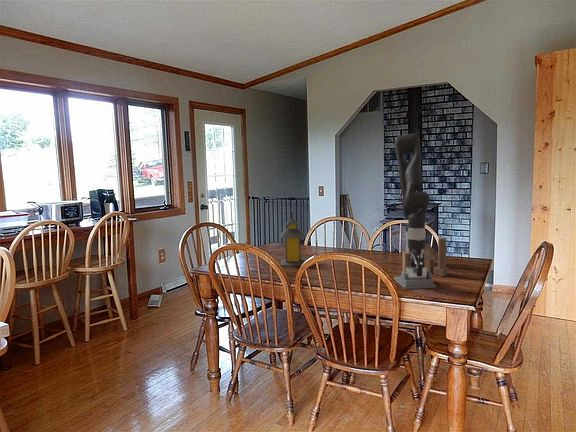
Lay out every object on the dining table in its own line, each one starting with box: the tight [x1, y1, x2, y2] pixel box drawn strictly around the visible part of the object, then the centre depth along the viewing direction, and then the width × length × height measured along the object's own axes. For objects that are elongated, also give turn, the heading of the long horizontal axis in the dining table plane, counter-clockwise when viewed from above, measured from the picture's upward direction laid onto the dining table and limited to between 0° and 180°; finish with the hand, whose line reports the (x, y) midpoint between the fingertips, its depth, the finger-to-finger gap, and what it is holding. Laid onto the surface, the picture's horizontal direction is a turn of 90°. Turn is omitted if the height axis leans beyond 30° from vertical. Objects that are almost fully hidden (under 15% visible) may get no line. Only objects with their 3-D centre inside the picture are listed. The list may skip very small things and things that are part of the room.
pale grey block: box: [406, 267, 427, 279], centre depth 196 cm, size 4×8×7 cm, turn 91°
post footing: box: [393, 250, 437, 290], centre depth 200 cm, size 17×14×13 cm
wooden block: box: [424, 237, 449, 277], centre depth 214 cm, size 4×11×18 cm, turn 37°
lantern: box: [279, 209, 307, 267], centre depth 245 cm, size 14×14×30 cm
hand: (416, 273), depth 196 cm, fingers open, 8 cm apart
